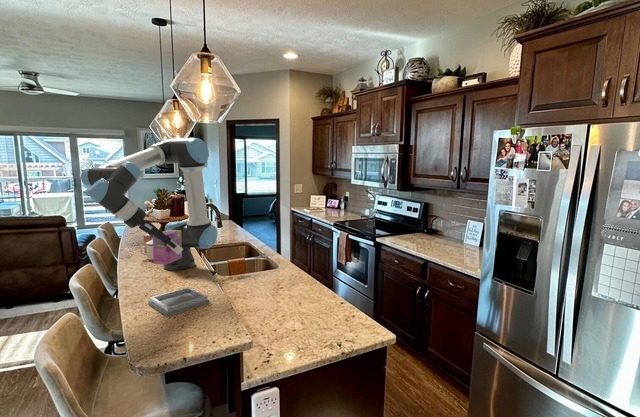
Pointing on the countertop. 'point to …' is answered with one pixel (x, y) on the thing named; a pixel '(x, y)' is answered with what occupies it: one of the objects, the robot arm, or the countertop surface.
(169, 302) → the gray square tray
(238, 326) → the countertop surface
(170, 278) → the countertop surface
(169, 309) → the steel rail frame
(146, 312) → the countertop surface
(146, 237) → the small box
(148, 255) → the teacup with lid
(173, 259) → the box
